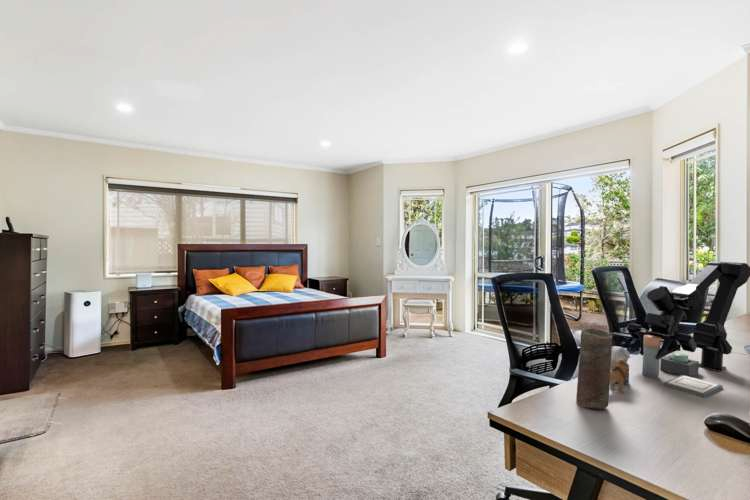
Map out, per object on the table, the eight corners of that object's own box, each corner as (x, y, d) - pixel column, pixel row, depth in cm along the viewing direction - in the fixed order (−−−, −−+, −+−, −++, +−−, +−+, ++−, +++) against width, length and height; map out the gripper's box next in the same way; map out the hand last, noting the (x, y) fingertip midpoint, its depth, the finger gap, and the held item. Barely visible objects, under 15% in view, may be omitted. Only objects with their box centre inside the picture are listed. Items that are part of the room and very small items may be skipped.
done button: (674, 360, 132) (674, 352, 132) (690, 364, 128) (690, 355, 128) (669, 362, 130) (669, 353, 130) (684, 366, 126) (685, 357, 126)
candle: (605, 402, 102) (608, 329, 102) (612, 414, 95) (616, 336, 95) (573, 398, 105) (576, 326, 104) (578, 409, 98) (582, 332, 97)
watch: (631, 381, 118) (632, 347, 118) (620, 387, 114) (622, 351, 113) (611, 376, 123) (612, 342, 123) (600, 381, 118) (602, 346, 118)
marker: (645, 372, 127) (647, 334, 127) (661, 376, 123) (663, 337, 123) (639, 374, 125) (641, 335, 125) (655, 379, 121) (657, 339, 121)
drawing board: (682, 377, 123) (682, 374, 123) (722, 388, 115) (722, 384, 115) (663, 385, 116) (663, 381, 116) (705, 397, 107) (705, 393, 107)
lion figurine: (616, 385, 115) (617, 356, 115) (633, 391, 111) (635, 361, 110) (581, 391, 110) (582, 360, 110) (598, 398, 105) (599, 366, 105)
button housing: (670, 366, 135) (670, 355, 134) (698, 373, 128) (698, 361, 128) (660, 369, 130) (660, 358, 130) (688, 377, 124) (689, 365, 123)
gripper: (630, 300, 134) (610, 334, 129) (694, 309, 117) (673, 349, 112) (642, 320, 137) (622, 354, 133) (705, 332, 121) (685, 371, 116)
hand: (648, 356), depth 123 cm, fingers closed on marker, 4 cm apart
